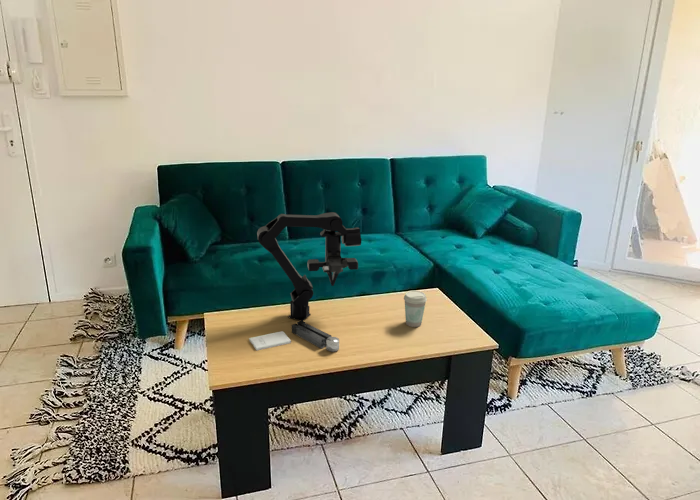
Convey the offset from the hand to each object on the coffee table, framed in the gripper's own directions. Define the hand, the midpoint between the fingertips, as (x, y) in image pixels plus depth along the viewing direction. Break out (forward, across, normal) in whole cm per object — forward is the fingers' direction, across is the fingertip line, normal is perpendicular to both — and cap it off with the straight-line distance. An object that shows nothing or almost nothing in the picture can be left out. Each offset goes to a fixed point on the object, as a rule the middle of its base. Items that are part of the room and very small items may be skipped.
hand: (332, 285), depth 202 cm
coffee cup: (+12, +29, -12) cm, 34 cm away
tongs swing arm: (+12, -9, -21) cm, 25 cm away
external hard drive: (+13, -24, -19) cm, 34 cm away
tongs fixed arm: (+12, -11, -20) cm, 26 cm away
